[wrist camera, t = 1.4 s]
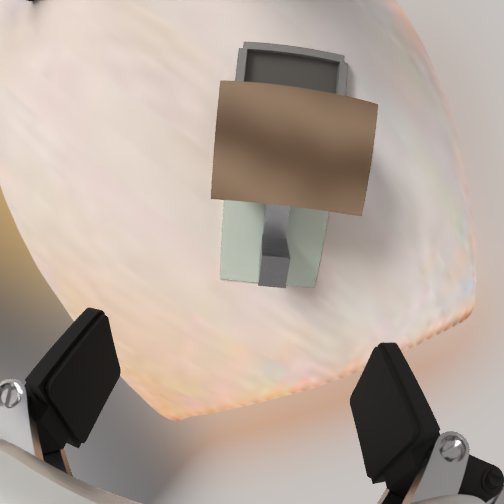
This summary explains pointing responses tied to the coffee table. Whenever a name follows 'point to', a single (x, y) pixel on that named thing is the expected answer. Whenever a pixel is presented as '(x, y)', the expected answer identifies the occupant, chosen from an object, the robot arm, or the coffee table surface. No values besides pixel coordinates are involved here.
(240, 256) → the mat
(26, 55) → the coffee table surface
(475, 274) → the coffee table surface
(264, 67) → the grey picture frame
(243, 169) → the tunnel
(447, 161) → the coffee table surface
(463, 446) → the robot arm
